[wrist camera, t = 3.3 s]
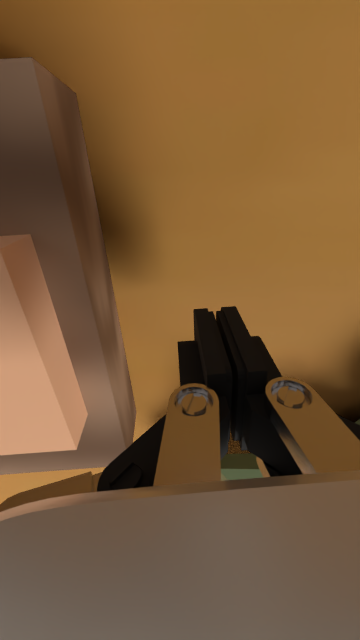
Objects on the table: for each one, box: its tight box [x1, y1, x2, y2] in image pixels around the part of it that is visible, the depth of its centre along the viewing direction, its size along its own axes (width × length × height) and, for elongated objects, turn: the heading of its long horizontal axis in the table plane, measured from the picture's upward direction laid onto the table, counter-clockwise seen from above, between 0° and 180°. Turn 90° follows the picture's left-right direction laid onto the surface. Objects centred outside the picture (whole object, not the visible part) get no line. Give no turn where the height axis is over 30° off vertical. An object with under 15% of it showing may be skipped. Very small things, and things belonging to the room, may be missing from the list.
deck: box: [0, 57, 136, 475], centre depth 13 cm, size 18×10×4 cm, turn 3°
